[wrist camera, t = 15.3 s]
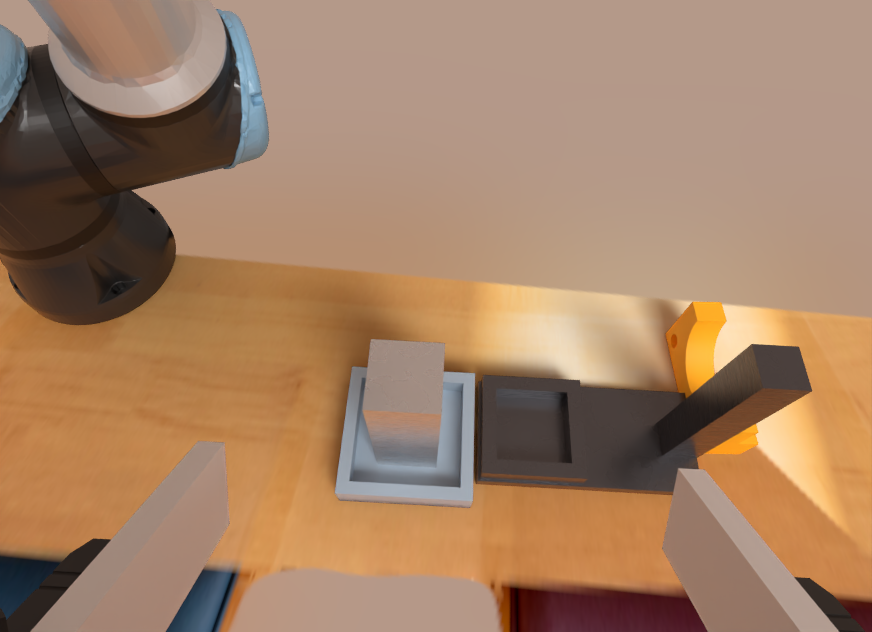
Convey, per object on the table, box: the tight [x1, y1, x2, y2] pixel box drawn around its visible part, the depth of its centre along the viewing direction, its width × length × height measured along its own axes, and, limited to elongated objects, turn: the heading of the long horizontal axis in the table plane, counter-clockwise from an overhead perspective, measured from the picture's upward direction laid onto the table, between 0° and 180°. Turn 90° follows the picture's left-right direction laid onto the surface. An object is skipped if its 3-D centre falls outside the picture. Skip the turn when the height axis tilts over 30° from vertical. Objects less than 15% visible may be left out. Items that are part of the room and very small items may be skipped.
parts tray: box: [335, 366, 475, 508], centre depth 47 cm, size 11×11×3 cm
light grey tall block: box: [362, 339, 445, 468], centre depth 42 cm, size 5×5×14 cm
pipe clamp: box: [666, 302, 758, 454], centre depth 49 cm, size 12×4×6 cm, turn 0°
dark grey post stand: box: [476, 344, 812, 495], centre depth 42 cm, size 19×9×17 cm, turn 87°
